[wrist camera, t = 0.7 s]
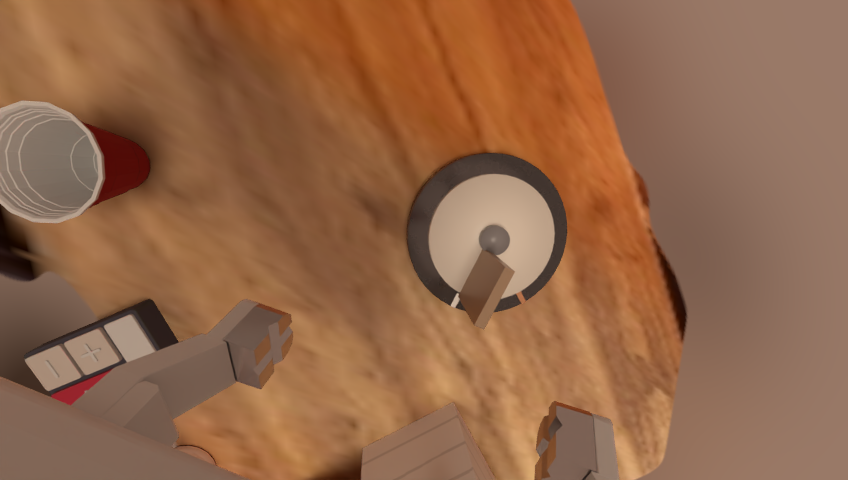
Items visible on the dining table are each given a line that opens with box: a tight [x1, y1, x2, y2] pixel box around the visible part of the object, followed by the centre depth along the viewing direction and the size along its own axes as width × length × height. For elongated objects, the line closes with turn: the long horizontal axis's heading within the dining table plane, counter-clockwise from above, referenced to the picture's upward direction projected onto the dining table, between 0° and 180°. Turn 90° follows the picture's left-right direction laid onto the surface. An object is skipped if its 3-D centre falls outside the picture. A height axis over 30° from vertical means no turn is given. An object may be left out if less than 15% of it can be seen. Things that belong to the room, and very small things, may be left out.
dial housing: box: [407, 153, 567, 312], centre depth 52 cm, size 21×21×2 cm
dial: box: [428, 174, 555, 329], centre depth 46 cm, size 16×16×10 cm
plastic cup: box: [0, 101, 150, 223], centre depth 41 cm, size 11×11×12 cm
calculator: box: [24, 299, 179, 405], centre depth 50 cm, size 11×4×15 cm
